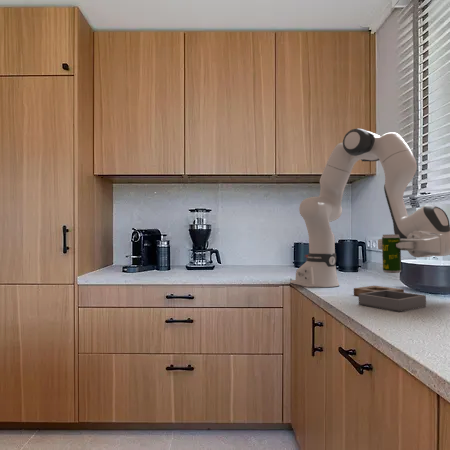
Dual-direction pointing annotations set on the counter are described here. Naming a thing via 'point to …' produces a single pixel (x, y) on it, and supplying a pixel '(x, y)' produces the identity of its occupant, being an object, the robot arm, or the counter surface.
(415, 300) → the tray
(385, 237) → the beer can
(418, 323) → the counter surface
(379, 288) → the brown square board
